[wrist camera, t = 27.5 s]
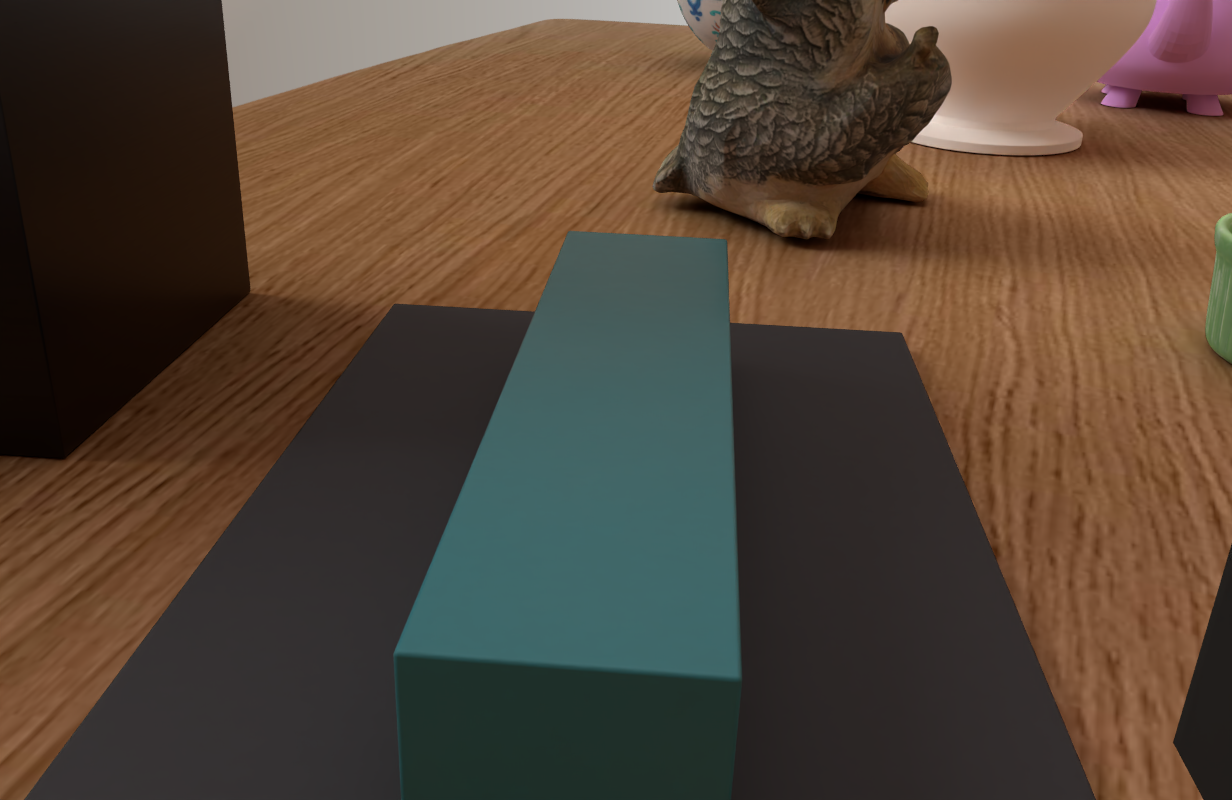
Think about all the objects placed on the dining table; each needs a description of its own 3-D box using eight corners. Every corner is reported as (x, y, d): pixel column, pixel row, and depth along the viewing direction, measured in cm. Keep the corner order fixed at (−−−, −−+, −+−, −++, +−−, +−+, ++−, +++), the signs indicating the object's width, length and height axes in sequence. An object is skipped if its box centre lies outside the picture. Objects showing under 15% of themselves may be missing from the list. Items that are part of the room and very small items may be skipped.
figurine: (1011, 261, 51) (1079, -114, 45) (682, 261, 49) (705, -128, 43) (903, 182, 64) (944, -118, 58) (639, 180, 62) (652, -129, 56)
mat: (-15, 886, 18) (-22, 857, 18) (394, 318, 42) (394, 302, 42) (1155, 987, 17) (1164, 959, 17) (900, 347, 41) (902, 332, 41)
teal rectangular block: (722, 890, 18) (402, 862, 18) (718, 357, 38) (565, 348, 38) (742, 678, 16) (391, 652, 17) (727, 238, 36) (567, 230, 37)
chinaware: (785, 85, 93) (795, -18, 90) (633, 63, 101) (637, -32, 98) (870, 66, 104) (881, -26, 101) (726, 48, 112) (732, -38, 109)
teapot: (1277, 136, 80) (1329, -60, 75) (1059, 116, 84) (1093, -71, 79) (1247, 93, 97) (1288, -69, 92) (1067, 78, 101) (1096, -78, 96)
